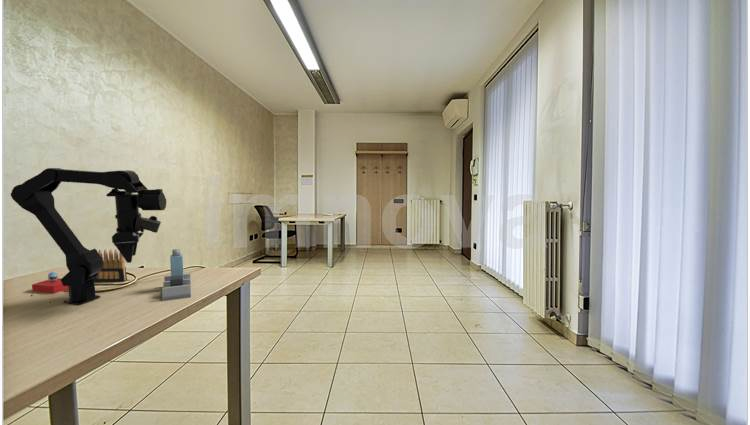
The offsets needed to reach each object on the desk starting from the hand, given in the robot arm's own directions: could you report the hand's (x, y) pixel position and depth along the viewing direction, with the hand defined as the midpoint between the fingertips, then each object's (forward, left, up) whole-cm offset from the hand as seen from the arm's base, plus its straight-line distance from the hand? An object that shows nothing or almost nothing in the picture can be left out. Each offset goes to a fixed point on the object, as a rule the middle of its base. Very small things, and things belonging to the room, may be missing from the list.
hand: (131, 258), depth 108 cm
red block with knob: (-31, -2, -14) cm, 34 cm away
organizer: (+8, +9, -13) cm, 18 cm away
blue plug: (+6, +11, -12) cm, 18 cm away
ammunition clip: (-22, +10, -13) cm, 28 cm away
